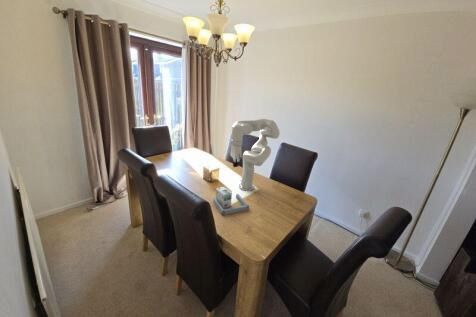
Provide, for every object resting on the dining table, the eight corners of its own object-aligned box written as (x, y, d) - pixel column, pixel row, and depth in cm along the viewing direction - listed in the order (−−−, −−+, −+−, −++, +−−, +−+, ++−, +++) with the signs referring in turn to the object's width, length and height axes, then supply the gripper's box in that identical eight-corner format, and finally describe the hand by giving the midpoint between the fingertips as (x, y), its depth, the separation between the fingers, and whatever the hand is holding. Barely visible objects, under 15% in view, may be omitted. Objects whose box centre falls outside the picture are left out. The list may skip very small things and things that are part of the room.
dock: (213, 201, 145) (213, 198, 144) (237, 197, 153) (238, 193, 152) (222, 215, 130) (222, 211, 129) (248, 209, 139) (249, 205, 138)
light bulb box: (231, 206, 141) (232, 192, 138) (223, 209, 137) (224, 194, 134) (222, 199, 149) (223, 186, 145) (214, 201, 145) (215, 188, 141)
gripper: (228, 139, 146) (227, 163, 153) (235, 146, 134) (234, 171, 140) (237, 139, 149) (236, 162, 156) (246, 145, 137) (244, 170, 143)
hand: (235, 166), depth 148 cm, fingers closed
